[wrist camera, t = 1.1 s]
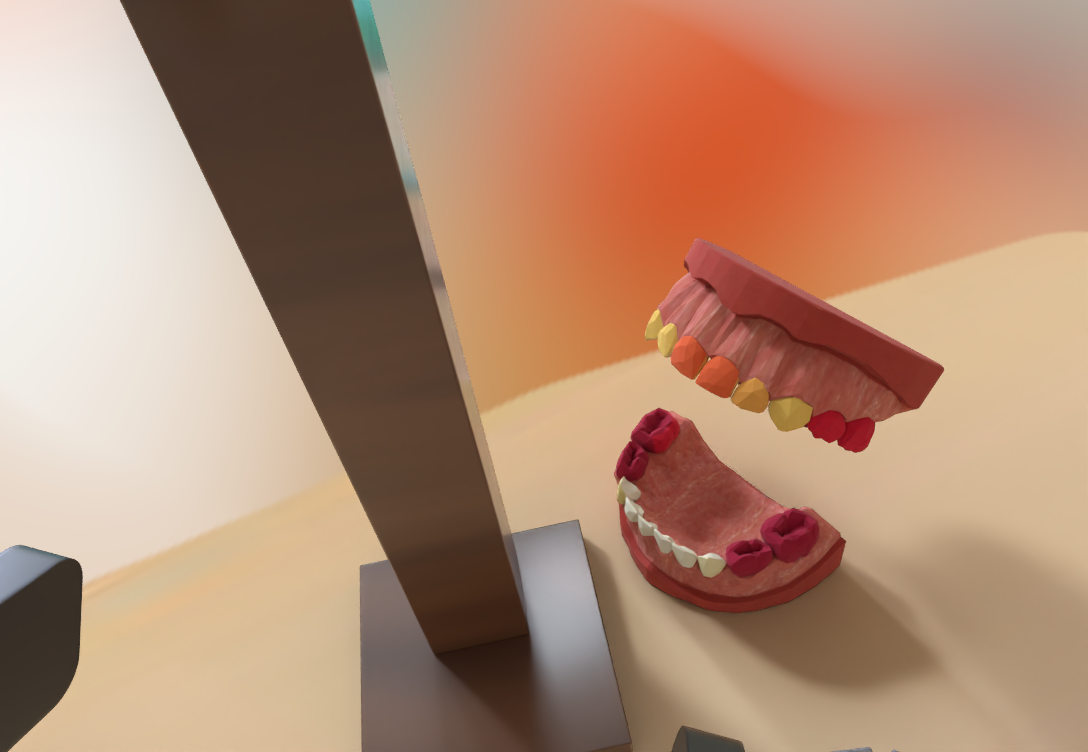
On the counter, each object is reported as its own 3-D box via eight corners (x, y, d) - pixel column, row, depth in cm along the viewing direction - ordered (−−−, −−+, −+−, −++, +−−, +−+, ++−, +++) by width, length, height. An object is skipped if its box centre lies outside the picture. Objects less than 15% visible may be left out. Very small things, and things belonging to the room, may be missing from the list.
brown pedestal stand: (366, 560, 38) (-102, -347, 15) (576, 516, 38) (425, -437, 16) (371, 842, 30) (-651, -232, 7) (639, 782, 30) (512, -433, 7)
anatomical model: (541, 525, 37) (619, 217, 30) (652, 471, 42) (743, 197, 35) (721, 689, 31) (877, 359, 24) (825, 603, 37) (982, 309, 29)
